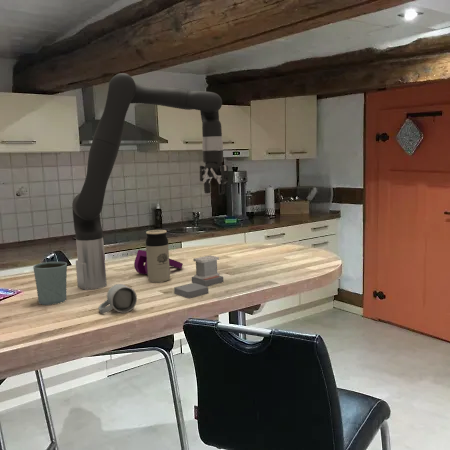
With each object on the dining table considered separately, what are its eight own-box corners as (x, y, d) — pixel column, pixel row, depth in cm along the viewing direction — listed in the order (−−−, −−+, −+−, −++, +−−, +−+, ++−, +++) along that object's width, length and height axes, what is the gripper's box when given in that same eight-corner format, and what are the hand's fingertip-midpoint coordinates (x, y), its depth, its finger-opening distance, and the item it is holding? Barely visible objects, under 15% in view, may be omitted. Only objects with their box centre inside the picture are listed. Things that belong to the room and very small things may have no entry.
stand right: (205, 286, 171) (205, 280, 171) (191, 282, 178) (191, 276, 177) (223, 282, 176) (223, 276, 176) (209, 278, 182) (209, 272, 182)
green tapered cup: (31, 301, 162) (27, 265, 160) (60, 294, 169) (57, 259, 167) (45, 307, 155) (41, 269, 153) (75, 300, 162) (72, 263, 160)
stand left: (188, 298, 159) (188, 292, 158) (174, 293, 165) (174, 287, 164) (208, 293, 164) (208, 287, 163) (194, 288, 170) (193, 282, 169)
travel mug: (146, 278, 185) (143, 230, 183) (167, 276, 188) (164, 228, 185) (150, 283, 178) (147, 233, 175) (172, 281, 181) (169, 231, 178)
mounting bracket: (166, 281, 204) (131, 270, 191) (173, 262, 205) (138, 249, 193) (181, 285, 197) (145, 274, 185) (187, 265, 198) (152, 252, 186)
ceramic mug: (129, 303, 156) (127, 279, 154) (138, 310, 148) (136, 285, 147) (95, 310, 151) (93, 285, 150) (102, 317, 144) (100, 291, 142)
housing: (202, 279, 172) (201, 260, 172) (194, 277, 176) (193, 258, 175) (219, 275, 177) (218, 257, 176) (211, 273, 181) (210, 255, 180)
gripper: (192, 150, 186) (195, 193, 189) (216, 149, 175) (218, 195, 178) (209, 149, 191) (210, 192, 193) (233, 148, 180) (234, 193, 182)
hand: (214, 193), depth 186 cm, fingers open, 8 cm apart
